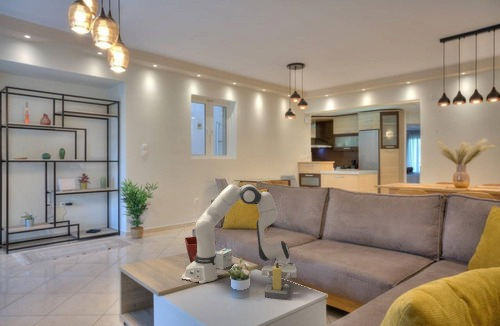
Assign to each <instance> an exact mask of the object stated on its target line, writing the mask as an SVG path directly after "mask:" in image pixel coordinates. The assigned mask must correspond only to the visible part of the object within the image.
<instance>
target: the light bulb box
mask: <svg viewBox="0 0 500 326" xmlns="http://www.w3.org/2000/svg"><path fill="white" fill-rule="evenodd" d="M215 254H216V267H217V268H216V269H218V268H221V269H220V270H222V269H224V268H225V269H227V268H230V267H231V266H233V249H230V248H225V247H224V248H222V249H221V250H218V251H215ZM226 267H227V268H226ZM225 269H224V270H225Z"/></svg>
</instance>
